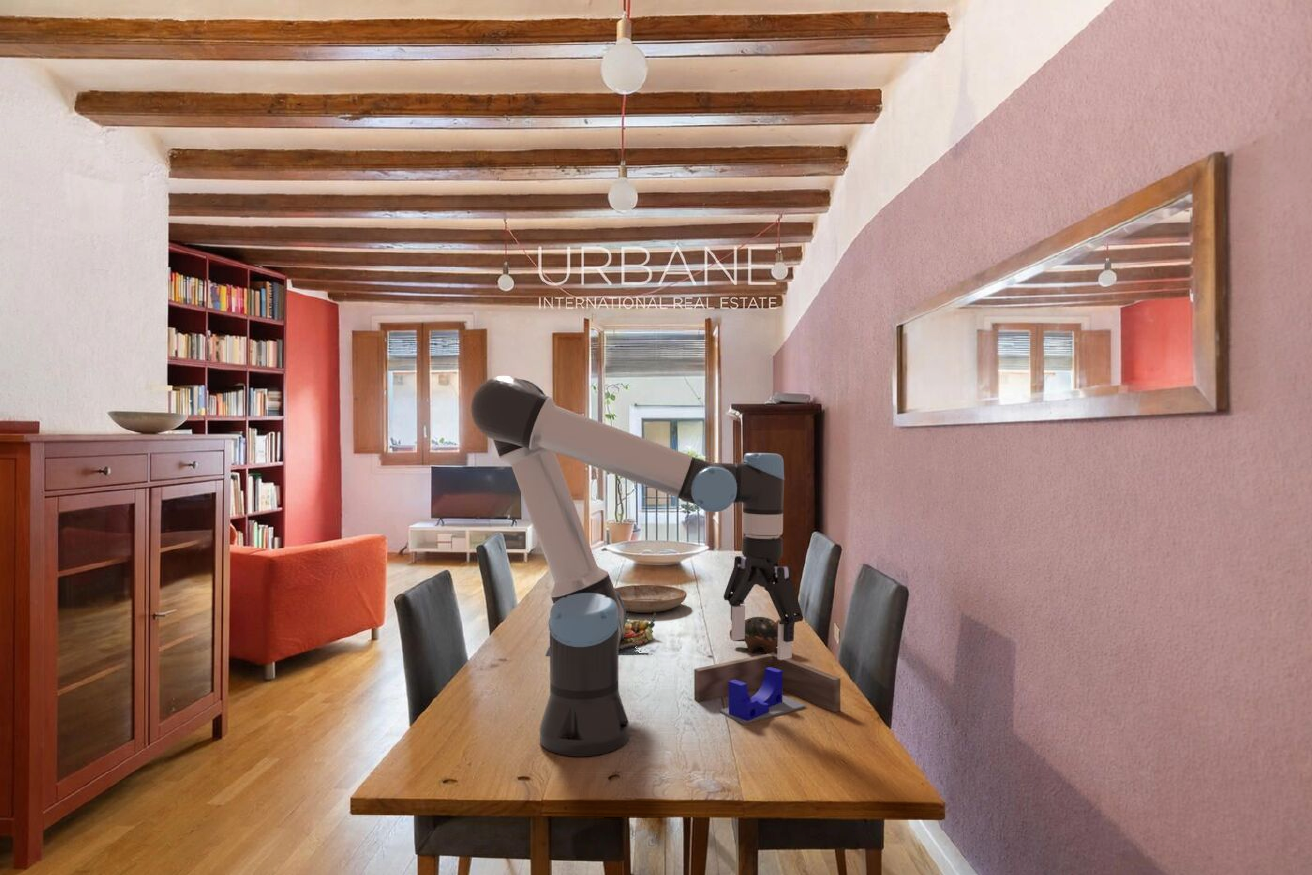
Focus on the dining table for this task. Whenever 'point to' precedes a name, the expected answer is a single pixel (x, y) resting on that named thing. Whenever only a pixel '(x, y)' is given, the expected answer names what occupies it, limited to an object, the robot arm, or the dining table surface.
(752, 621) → the decorative turtle
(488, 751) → the dining table surface
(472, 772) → the dining table surface
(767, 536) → the robot arm
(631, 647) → the plated dish
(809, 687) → the corner walls
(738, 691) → the blue curved block
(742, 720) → the grey mat
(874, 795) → the dining table surface
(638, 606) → the ceramic bowl
